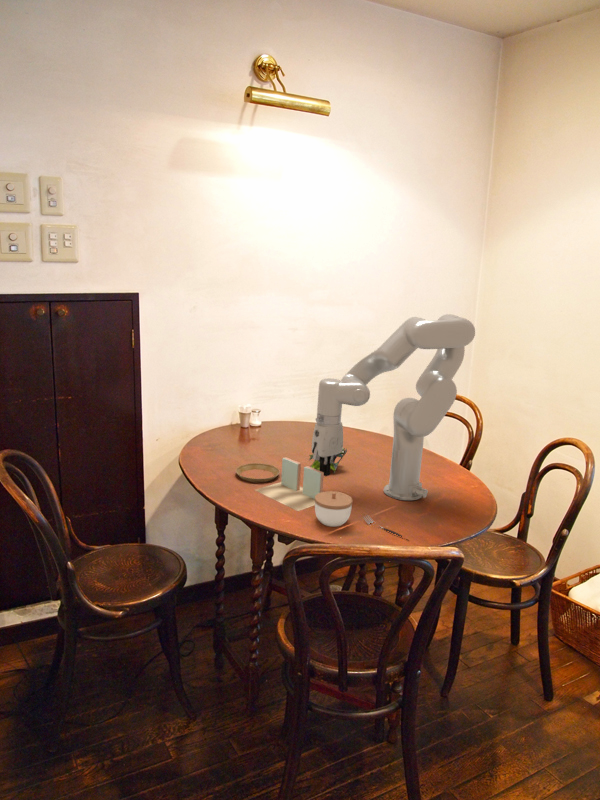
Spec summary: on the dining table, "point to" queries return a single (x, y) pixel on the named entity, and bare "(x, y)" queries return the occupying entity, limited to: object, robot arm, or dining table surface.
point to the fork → (381, 527)
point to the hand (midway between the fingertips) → (324, 474)
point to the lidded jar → (333, 508)
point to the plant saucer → (257, 466)
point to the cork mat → (287, 496)
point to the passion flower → (333, 465)
